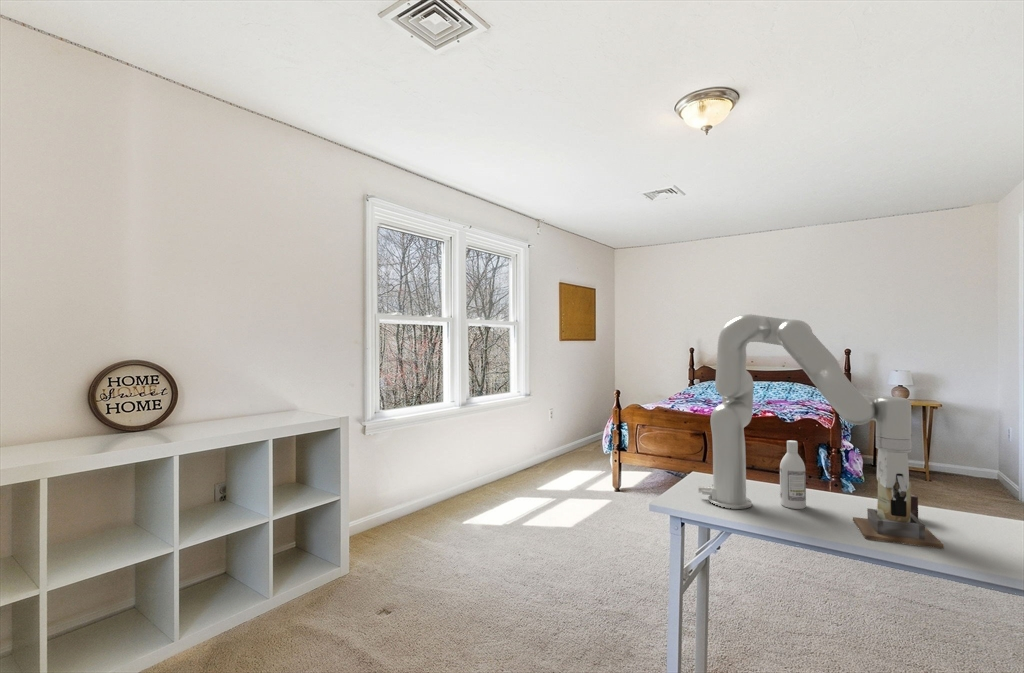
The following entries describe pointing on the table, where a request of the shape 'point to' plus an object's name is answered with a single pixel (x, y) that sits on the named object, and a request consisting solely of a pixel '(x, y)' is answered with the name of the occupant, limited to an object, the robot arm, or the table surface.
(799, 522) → the table surface
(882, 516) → the skincare box
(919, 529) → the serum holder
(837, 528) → the table surface
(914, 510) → the box
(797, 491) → the bath foam
